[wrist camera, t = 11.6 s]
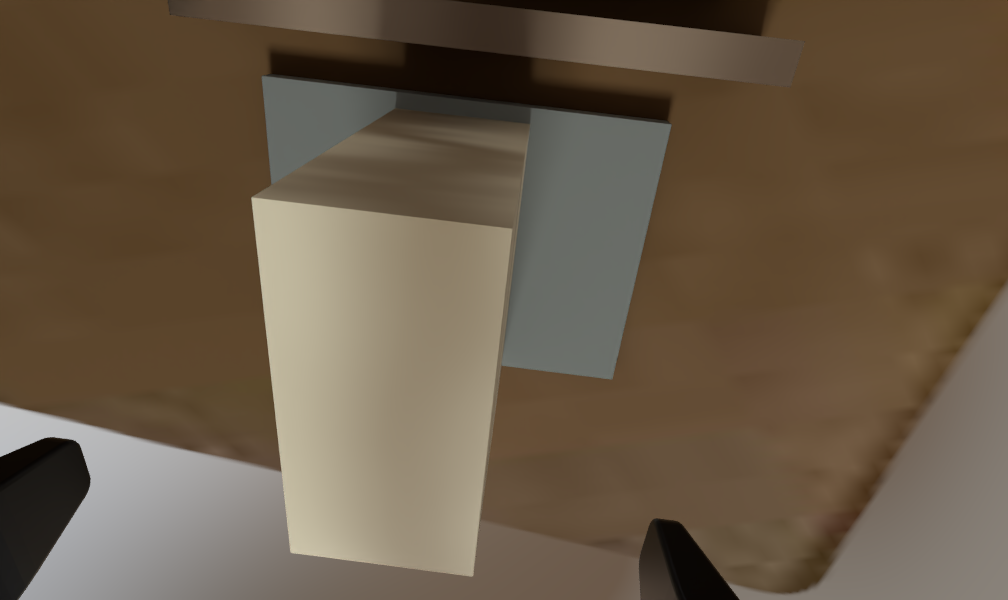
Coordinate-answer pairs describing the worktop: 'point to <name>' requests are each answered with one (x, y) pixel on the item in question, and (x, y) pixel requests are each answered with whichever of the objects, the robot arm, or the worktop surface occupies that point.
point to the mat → (522, 206)
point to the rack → (523, 34)
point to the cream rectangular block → (391, 333)
